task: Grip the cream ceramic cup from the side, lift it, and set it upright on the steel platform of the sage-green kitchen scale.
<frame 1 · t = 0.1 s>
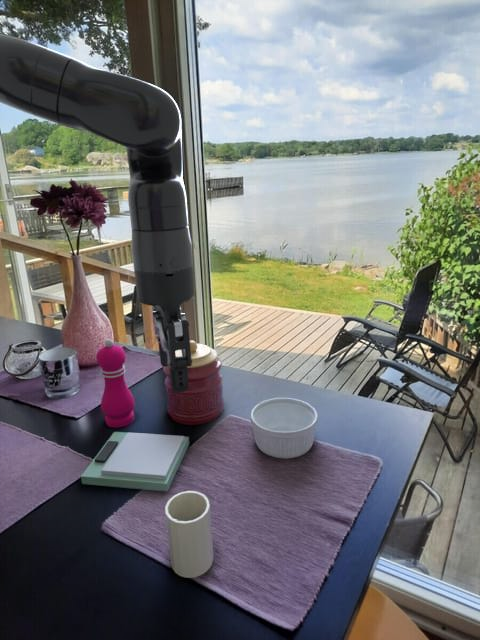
hand: (174, 377, 62), 26 cm above the table, tool pointing down, fingers open, 8 cm apart
kitchen canister: (196, 412, 102), on the table
ramekin: (284, 444, 89), on the table
pepper mill: (120, 422, 99), on the table
cup: (192, 562, 63), on the table
scale: (139, 464, 84), on the table
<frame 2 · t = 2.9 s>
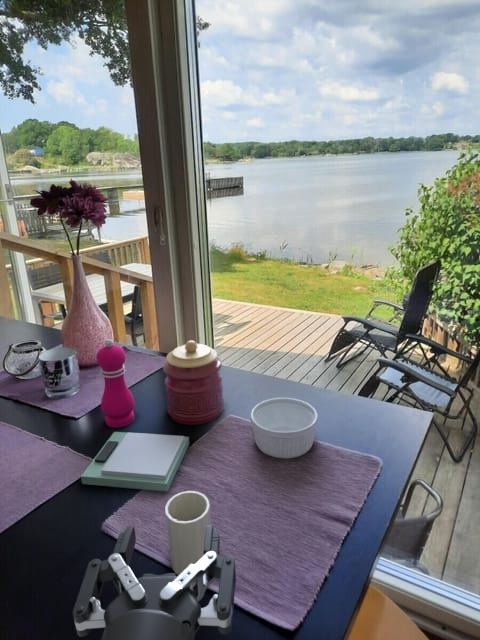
hand: (170, 531, 48), 16 cm above the table, tool horizontal, fingers open, 8 cm apart
nothing on the table moved.
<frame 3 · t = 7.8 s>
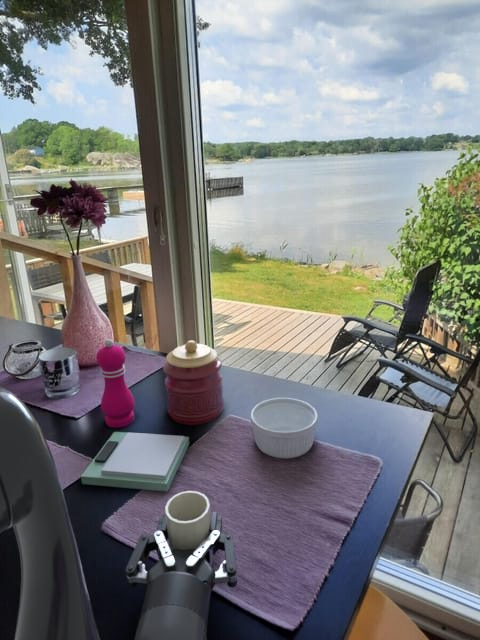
hand: (191, 516, 63), 6 cm above the table, tool horizontal, fingers closed on cup, 6 cm apart
cup: (192, 562, 63), on the table, touching gripper
everything else where it was.
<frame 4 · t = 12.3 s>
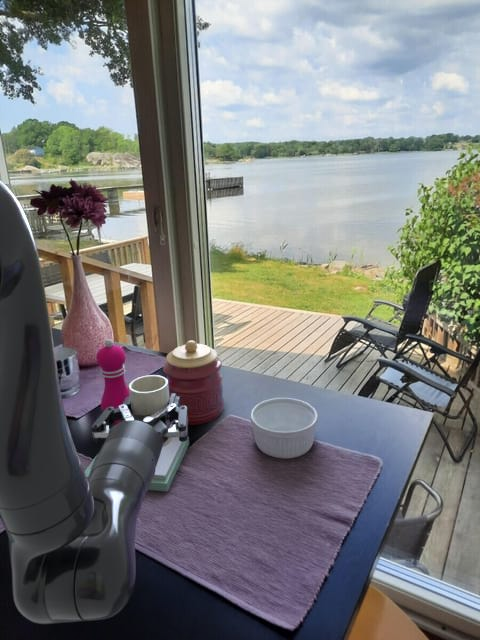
hand: (154, 398, 72), 18 cm above the table, tool horizontal, fingers closed on cup, 6 cm apart
cup: (154, 438, 72), point 12 cm above the table, touching gripper
everything else where it was.
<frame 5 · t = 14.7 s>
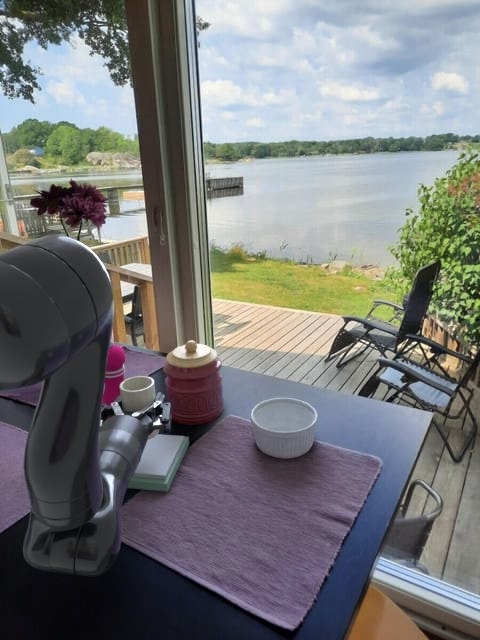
hand: (142, 396, 82), 13 cm above the table, tool horizontal, fingers closed on cup, 6 cm apart
cup: (143, 432, 82), point 8 cm above the table, touching gripper
everything else where it was.
when the fingers open (9 cm above the table, at t = 16.6 s): cup stays where it is, resting on scale.
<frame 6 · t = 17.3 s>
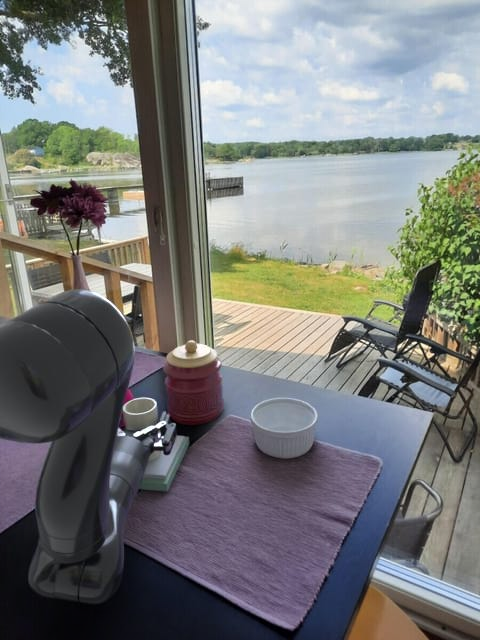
hand: (142, 415, 82), 10 cm above the table, tool horizontal, fingers open, 8 cm apart
cup: (145, 452, 83), point 3 cm above the table, touching scale
everything else where it was.
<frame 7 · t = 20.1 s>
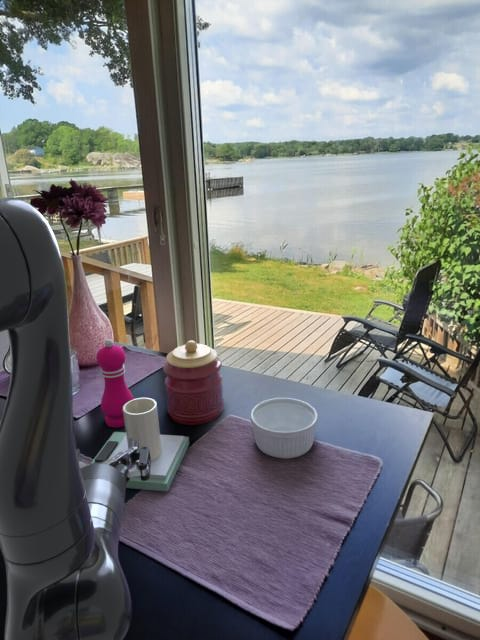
hand: (105, 448, 71), 11 cm above the table, tool horizontal, fingers open, 8 cm apart
nothing on the table moved.
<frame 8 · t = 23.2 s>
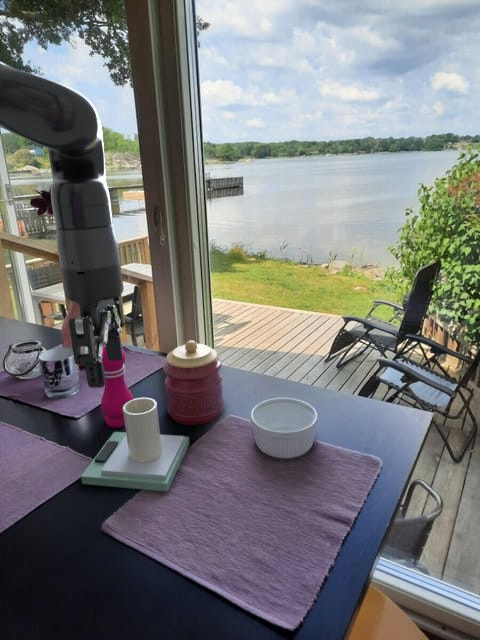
hand: (107, 372, 63), 26 cm above the table, tool pointing down, fingers open, 8 cm apart
nothing on the table moved.
at the end: cup inside the target area on the scale (0.1 cm from its centre), point 3.0 cm above the scale's base; cup tilted 0°; the gripper is holding nothing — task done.
